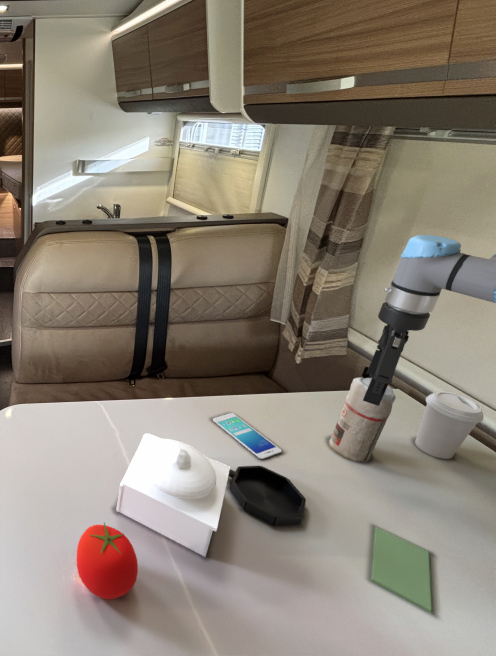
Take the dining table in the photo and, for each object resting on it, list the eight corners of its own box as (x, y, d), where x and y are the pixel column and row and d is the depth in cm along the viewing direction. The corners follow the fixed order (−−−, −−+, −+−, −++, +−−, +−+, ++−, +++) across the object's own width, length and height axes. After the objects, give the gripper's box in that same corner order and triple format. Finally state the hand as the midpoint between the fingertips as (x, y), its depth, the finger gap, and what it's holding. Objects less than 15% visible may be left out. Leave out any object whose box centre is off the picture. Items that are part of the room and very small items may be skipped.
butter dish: (140, 459, 104) (148, 407, 98) (222, 495, 94) (237, 440, 88) (115, 512, 91) (123, 455, 85) (207, 561, 81) (224, 501, 75)
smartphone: (232, 412, 118) (283, 450, 105) (231, 414, 118) (282, 453, 105) (211, 418, 115) (261, 459, 102) (210, 421, 116) (260, 461, 103)
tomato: (138, 617, 72) (146, 575, 68) (75, 605, 74) (79, 564, 70) (129, 556, 82) (136, 517, 78) (73, 547, 84) (77, 508, 80)
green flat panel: (428, 555, 81) (430, 551, 81) (431, 616, 72) (434, 612, 72) (373, 529, 87) (375, 525, 86) (370, 582, 77) (371, 579, 77)
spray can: (330, 433, 111) (355, 369, 104) (372, 450, 106) (400, 384, 98) (324, 450, 106) (350, 384, 98) (367, 469, 100) (397, 401, 93)
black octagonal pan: (305, 497, 93) (309, 486, 92) (294, 539, 85) (299, 528, 83) (200, 447, 107) (203, 437, 106) (182, 479, 98) (184, 468, 97)
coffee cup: (458, 472, 99) (486, 421, 94) (403, 449, 106) (426, 400, 100) (461, 451, 105) (487, 402, 99) (409, 430, 112) (431, 383, 106)
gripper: (385, 284, 102) (356, 359, 110) (381, 322, 85) (346, 407, 93) (429, 293, 97) (395, 370, 105) (433, 335, 80) (392, 424, 88)
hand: (372, 388), depth 99 cm, fingers open, 13 cm apart
